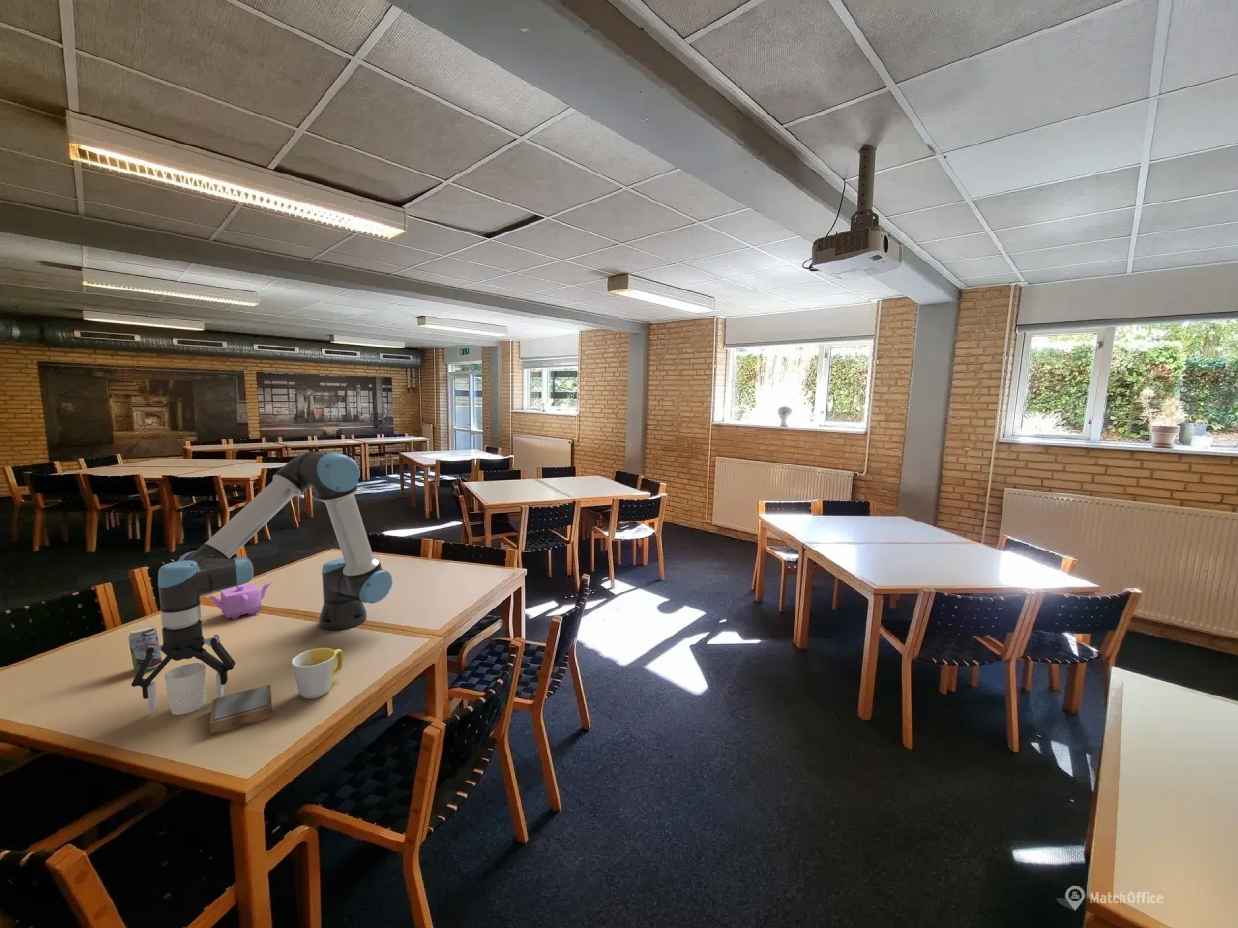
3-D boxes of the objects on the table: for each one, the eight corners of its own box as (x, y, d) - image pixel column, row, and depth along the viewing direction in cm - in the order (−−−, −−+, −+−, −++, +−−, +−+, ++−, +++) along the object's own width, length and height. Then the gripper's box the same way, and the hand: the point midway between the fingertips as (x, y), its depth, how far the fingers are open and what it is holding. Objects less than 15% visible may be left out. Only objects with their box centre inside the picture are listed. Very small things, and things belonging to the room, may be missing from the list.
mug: (307, 708, 127) (305, 670, 126) (285, 696, 132) (283, 659, 131) (357, 683, 139) (355, 648, 138) (335, 673, 144) (333, 639, 143)
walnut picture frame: (271, 694, 133) (270, 683, 132) (272, 717, 123) (271, 705, 123) (213, 710, 125) (212, 697, 125) (210, 735, 116) (209, 722, 116)
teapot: (240, 605, 190) (238, 578, 189) (274, 606, 190) (272, 579, 189) (206, 622, 175) (204, 593, 174) (244, 623, 175) (242, 594, 174)
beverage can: (144, 674, 141) (141, 635, 139) (124, 671, 142) (121, 632, 141) (168, 664, 147) (165, 625, 146) (149, 661, 148) (146, 623, 147)
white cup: (184, 698, 130) (181, 663, 129) (216, 697, 131) (213, 662, 130) (159, 717, 122) (156, 679, 121) (193, 716, 123) (190, 678, 122)
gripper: (245, 609, 133) (250, 684, 135) (122, 625, 122) (129, 706, 124) (239, 620, 126) (244, 698, 128) (108, 638, 115) (115, 723, 117)
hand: (187, 702), depth 126 cm, fingers open, 13 cm apart
